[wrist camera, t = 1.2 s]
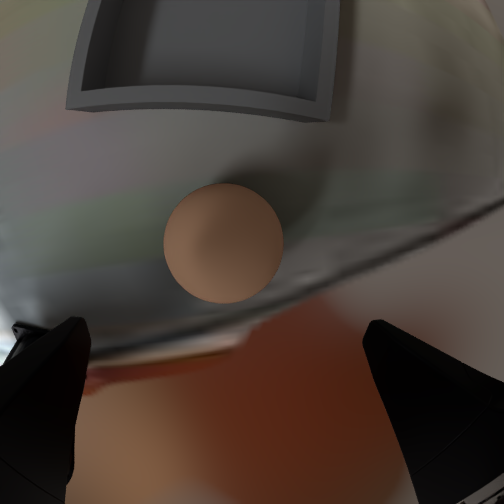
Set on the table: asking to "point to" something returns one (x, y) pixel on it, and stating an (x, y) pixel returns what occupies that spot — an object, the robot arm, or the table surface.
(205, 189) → the ball
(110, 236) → the table surface
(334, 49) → the grey open square tray
